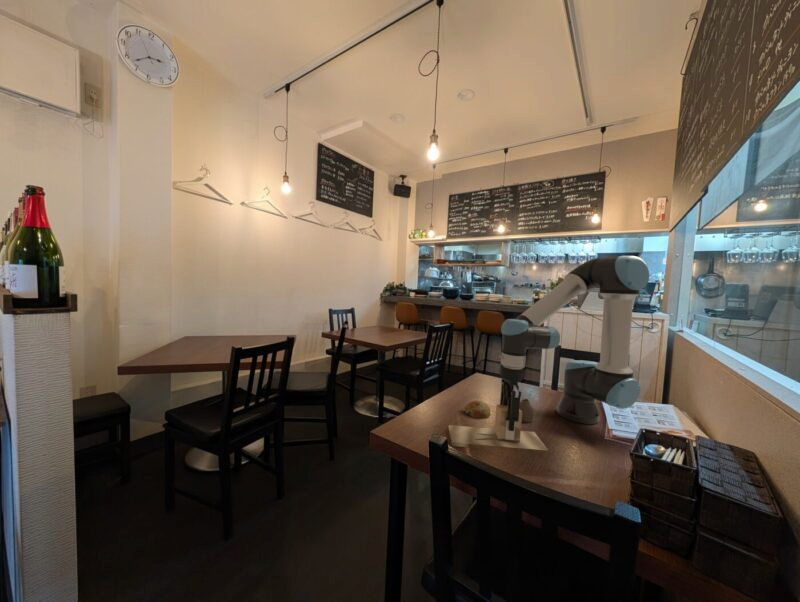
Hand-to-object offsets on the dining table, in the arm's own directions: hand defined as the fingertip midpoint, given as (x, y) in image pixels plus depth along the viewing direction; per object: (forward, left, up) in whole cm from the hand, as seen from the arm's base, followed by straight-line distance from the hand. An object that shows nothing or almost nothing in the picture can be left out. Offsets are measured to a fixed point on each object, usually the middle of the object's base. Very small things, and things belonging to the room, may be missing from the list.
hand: (506, 434), depth 103 cm
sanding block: (0, 0, -1) cm, 1 cm away
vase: (-11, -17, -3) cm, 20 cm away
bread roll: (+6, -19, -3) cm, 20 cm away
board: (+4, 0, -2) cm, 4 cm away
